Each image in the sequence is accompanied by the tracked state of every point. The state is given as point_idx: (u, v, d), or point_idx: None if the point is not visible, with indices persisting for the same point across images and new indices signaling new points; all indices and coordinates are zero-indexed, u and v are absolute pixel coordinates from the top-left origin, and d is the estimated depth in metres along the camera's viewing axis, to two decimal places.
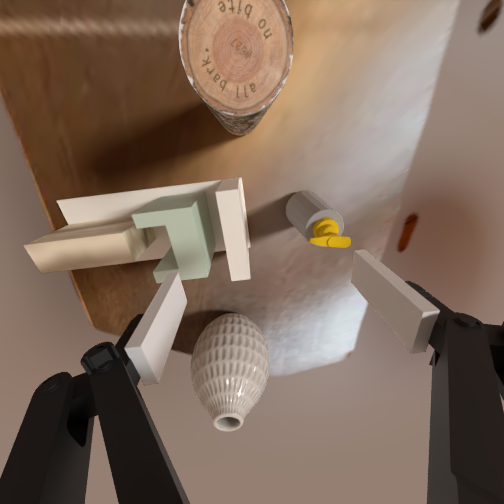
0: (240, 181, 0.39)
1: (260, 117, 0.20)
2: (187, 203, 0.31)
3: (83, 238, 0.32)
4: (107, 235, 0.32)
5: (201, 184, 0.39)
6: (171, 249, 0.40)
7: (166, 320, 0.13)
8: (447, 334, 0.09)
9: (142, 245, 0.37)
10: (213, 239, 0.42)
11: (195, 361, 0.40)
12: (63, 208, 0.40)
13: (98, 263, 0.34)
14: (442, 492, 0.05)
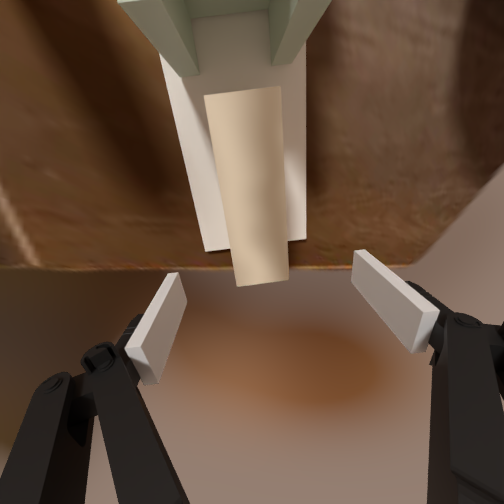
0: None
1: None
2: None
3: (222, 189, 0.16)
4: (212, 136, 0.15)
5: None
6: (277, 40, 0.17)
7: (166, 320, 0.13)
8: (447, 334, 0.09)
9: None
10: None
11: None
12: (215, 247, 0.29)
13: (277, 176, 0.16)
14: (442, 492, 0.05)
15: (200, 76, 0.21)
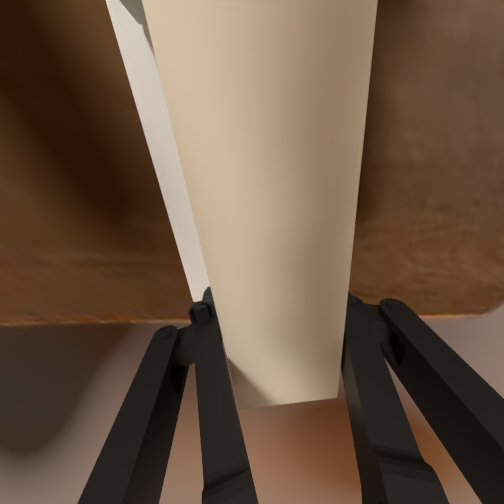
0: None
1: None
2: None
3: (206, 249, 0.07)
4: (176, 120, 0.05)
5: None
6: None
7: None
8: None
9: None
10: None
11: None
12: None
13: (339, 220, 0.07)
14: (369, 472, 0.06)
15: None
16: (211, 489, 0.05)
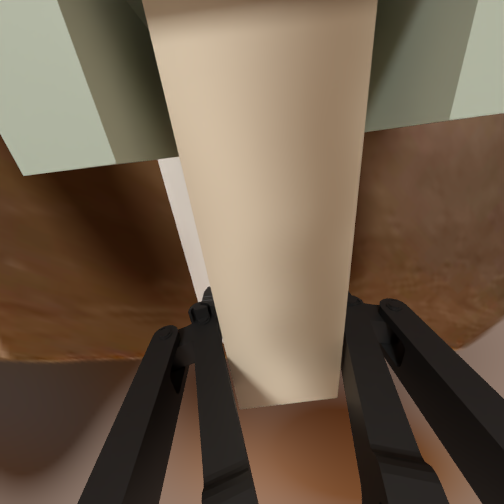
0: None
1: None
2: None
3: (206, 249, 0.07)
4: (176, 120, 0.05)
5: None
6: None
7: None
8: None
9: None
10: None
11: None
12: (222, 339, 0.24)
13: (339, 221, 0.07)
14: (369, 472, 0.06)
15: None
16: (211, 489, 0.05)
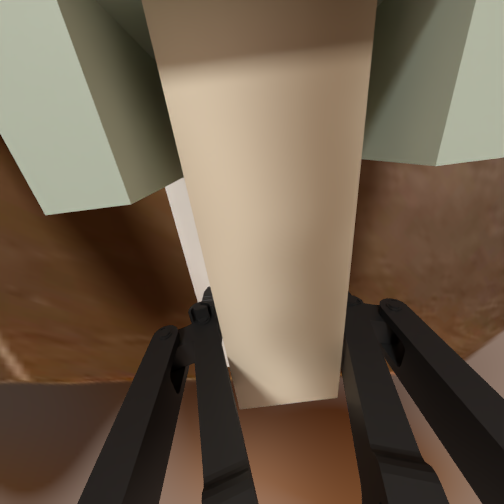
0: None
1: None
2: None
3: (206, 249, 0.07)
4: (176, 120, 0.05)
5: None
6: None
7: None
8: None
9: None
10: None
11: None
12: (228, 364, 0.26)
13: (339, 220, 0.07)
14: (369, 472, 0.06)
15: None
16: (211, 489, 0.05)
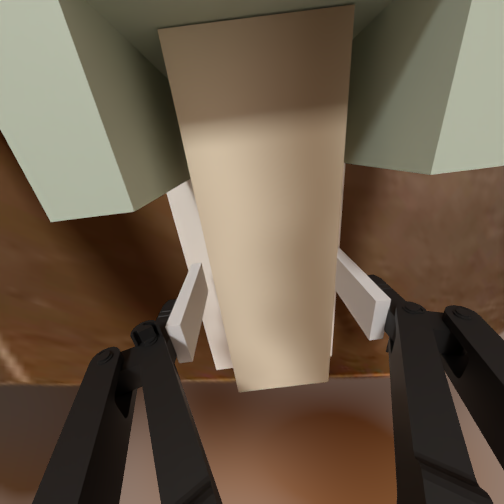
0: None
1: None
2: None
3: (209, 243, 0.08)
4: (185, 133, 0.06)
5: None
6: None
7: (195, 305, 0.14)
8: (398, 323, 0.09)
9: None
10: None
11: None
12: (227, 365, 0.26)
13: (325, 219, 0.08)
14: (409, 478, 0.06)
15: None
16: None
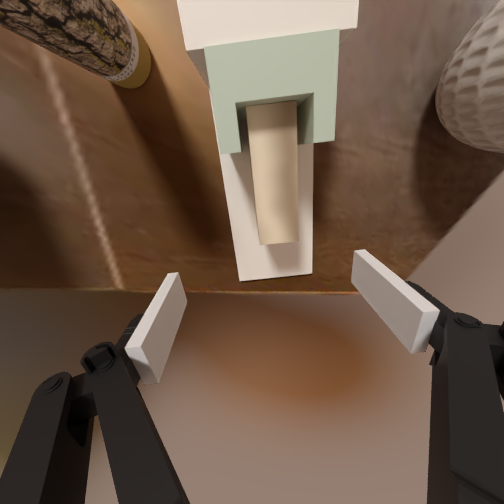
0: None
1: None
2: None
3: (253, 170, 0.24)
4: (249, 133, 0.22)
5: None
6: None
7: (166, 320, 0.13)
8: (447, 334, 0.09)
9: None
10: None
11: None
12: (246, 278, 0.41)
13: (292, 161, 0.23)
14: (442, 492, 0.05)
15: (245, 176, 0.33)
16: None
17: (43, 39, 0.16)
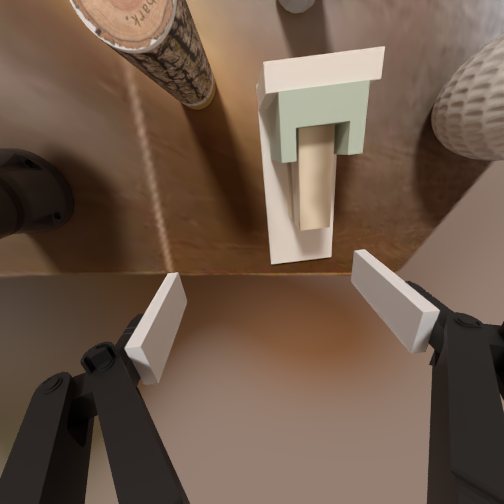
0: None
1: None
2: (275, 106, 0.29)
3: (300, 173, 0.32)
4: (300, 147, 0.31)
5: (262, 135, 0.38)
6: None
7: (166, 320, 0.13)
8: (447, 334, 0.09)
9: None
10: None
11: (493, 147, 0.29)
12: (277, 261, 0.50)
13: (329, 167, 0.32)
14: (442, 492, 0.05)
15: (282, 177, 0.42)
16: None
17: (177, 89, 0.24)
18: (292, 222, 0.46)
